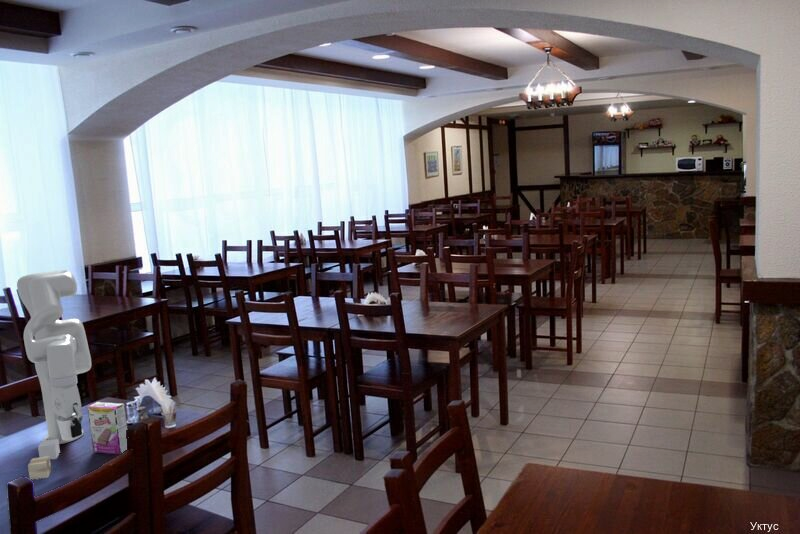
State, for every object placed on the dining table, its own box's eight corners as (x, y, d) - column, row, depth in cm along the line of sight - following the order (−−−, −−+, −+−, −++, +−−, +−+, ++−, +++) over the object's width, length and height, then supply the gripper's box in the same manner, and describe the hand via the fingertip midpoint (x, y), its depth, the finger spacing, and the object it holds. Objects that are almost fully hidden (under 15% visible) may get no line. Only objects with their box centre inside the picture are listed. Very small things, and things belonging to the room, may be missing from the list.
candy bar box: (92, 453, 222) (86, 406, 219) (102, 446, 227) (96, 401, 224) (121, 455, 219) (114, 408, 216) (130, 449, 224) (125, 402, 221)
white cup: (73, 442, 208) (71, 421, 207) (54, 440, 209) (51, 420, 208) (88, 432, 215) (85, 412, 213) (69, 431, 216) (66, 411, 215)
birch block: (34, 473, 209) (32, 458, 209) (51, 470, 211) (49, 455, 210) (30, 480, 205) (27, 465, 204) (47, 477, 206) (45, 462, 205)
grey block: (43, 455, 223) (41, 441, 222) (60, 452, 224) (58, 438, 223) (40, 461, 218) (37, 447, 217) (56, 459, 219) (54, 444, 218)
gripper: (38, 378, 210) (45, 431, 214) (66, 389, 200) (73, 444, 204) (61, 371, 216) (68, 423, 220) (90, 381, 206) (97, 435, 210)
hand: (71, 433), depth 212 cm, fingers closed on white cup, 6 cm apart
